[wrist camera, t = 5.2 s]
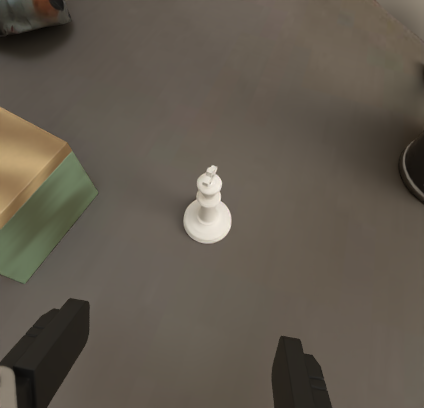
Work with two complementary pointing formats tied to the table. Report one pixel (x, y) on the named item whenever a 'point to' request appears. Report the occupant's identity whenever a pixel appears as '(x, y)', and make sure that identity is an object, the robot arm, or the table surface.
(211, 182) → the chess piece
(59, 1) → the lucky cat figurine
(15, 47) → the table surface
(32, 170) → the shelf
